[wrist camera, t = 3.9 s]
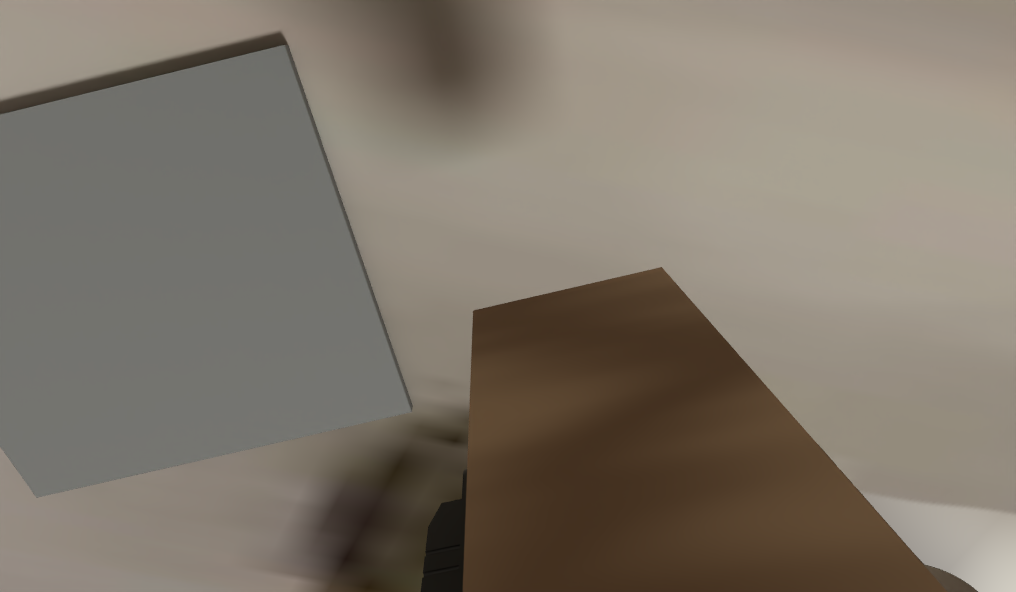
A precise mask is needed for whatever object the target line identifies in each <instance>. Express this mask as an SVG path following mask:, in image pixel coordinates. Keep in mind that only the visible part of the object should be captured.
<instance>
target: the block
mask: <svg viewBox="0 0 1016 592" xmlns="http://www.w3.org/2000/svg"><path fill="white" fill-rule="evenodd" d="M463 592H947V591H946V590H945V589H944V587H943V586H942V585H941V584H940V583H939V582H938V581H937V579H936V578H935V577H934V576H933V575H932V574H931V573H930V572H929V570H928V569H927V568H926V567H925V566H924V565H923V564H922V562H921V561H920V560H919V559H918V558H917V557H916V556H915V554H914V553H913V552H912V551H911V550H910V549H909V548H908V547H907V545H906V544H905V543H904V542H903V541H902V540H901V539H900V537H899V536H898V535H897V534H896V533H895V532H894V531H893V529H892V528H891V527H890V526H889V525H888V524H887V523H886V522H885V520H884V519H883V518H882V517H881V516H880V515H879V514H878V512H877V511H876V510H875V509H874V508H873V507H872V506H871V505H870V503H869V502H868V501H867V500H866V499H865V498H864V497H863V495H862V494H861V493H860V492H859V491H858V490H857V489H856V487H855V486H854V485H853V484H852V483H851V482H850V481H849V480H848V478H847V477H846V476H845V475H844V474H843V473H842V472H841V470H840V469H839V468H838V467H837V466H836V465H835V464H834V462H833V461H832V460H831V459H830V458H829V457H828V456H827V455H826V453H825V452H824V451H823V450H822V449H821V448H820V447H819V445H818V444H817V443H816V442H815V441H814V440H813V439H812V437H811V436H810V435H809V434H808V433H807V432H806V431H805V430H804V428H803V427H802V426H801V425H800V424H799V423H798V422H797V420H796V419H795V418H794V417H793V416H792V415H791V414H790V412H789V411H788V410H787V409H786V408H785V407H784V406H783V405H782V403H781V402H780V401H779V400H778V399H777V398H776V397H775V395H774V394H773V393H772V392H771V391H770V390H769V389H768V388H767V386H766V385H765V384H764V383H763V382H762V381H761V380H760V378H759V377H758V376H757V375H756V374H755V373H754V372H753V370H752V369H751V368H750V367H749V366H748V365H747V364H746V363H745V361H744V360H743V359H742V358H741V357H740V356H739V355H738V353H737V352H736V351H735V350H734V349H733V348H732V347H731V345H730V344H729V343H728V342H727V341H726V340H725V339H724V338H723V336H722V335H721V334H720V333H719V332H718V331H717V330H716V328H715V327H714V326H713V325H712V324H711V323H710V322H709V320H708V319H707V318H706V317H705V316H704V315H703V314H702V313H701V311H700V310H699V309H698V308H697V307H696V306H695V305H694V303H693V302H692V301H691V300H690V299H689V298H688V297H687V295H686V294H685V293H684V292H683V291H682V290H681V289H680V288H679V286H678V285H677V284H676V283H675V282H674V281H673V280H672V278H671V277H670V276H669V275H668V274H667V273H666V272H665V271H664V269H663V268H662V267H660V268H656V269H652V270H647V271H643V272H639V273H634V274H630V275H626V276H621V277H617V278H613V279H608V280H604V281H600V282H595V283H591V284H587V285H582V286H578V287H574V288H569V289H565V290H561V291H556V292H552V293H548V294H543V295H539V296H535V297H530V298H526V299H522V300H517V301H513V302H509V303H504V304H500V305H496V306H491V307H487V308H483V309H478V310H474V311H473V330H472V357H471V384H470V410H469V437H468V464H467V490H466V517H465V544H464V570H463Z"/></svg>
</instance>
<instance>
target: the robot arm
mask: <svg viewBox="0 0 1016 592" xmlns="http://www.w3.org/2000/svg"><path fill="white" fill-rule="evenodd" d="M819 447H820V446H819ZM820 448H821V447H820ZM821 449H822V448H821ZM826 455H827V454H826ZM827 456H828V455H827ZM828 457H829V456H828ZM829 458H830V457H829ZM834 464H835V463H834ZM835 465H836V464H835ZM836 466H837V465H836ZM841 472H842V471H841ZM842 473H843V472H842ZM843 474H844V473H843ZM848 480H849V479H848ZM849 481H850V480H849ZM850 482H851V481H850ZM851 483H852V482H851ZM856 489H857V488H856ZM466 490H467V469H465V470H464V473H463V488H462V499H459V500H455V501H450V502H445V503H441V505H440V507H439V509H438V511H437V512H436V514H435V516H434V518H433V519H432V521H431V523H430V525H429V527H428V534H427V543H426V556H425V560H424V569H423V574H424V578H422V586H421V592H463V570H464V544H465V517H466ZM857 490H858V489H857ZM858 491H859V490H858ZM863 497H864V496H863ZM864 498H865V497H864ZM865 499H866V498H865ZM870 505H871V504H870ZM871 506H872V505H871ZM873 508H874V507H873ZM878 514H879V513H878ZM879 515H880V514H879ZM885 522H886V521H885ZM886 523H887V522H886ZM887 524H888V523H887ZM893 531H894V530H893ZM894 532H895V531H894ZM895 533H896V532H895ZM900 539H901V538H900ZM907 547H908V546H907ZM908 548H909V547H908ZM909 549H910V548H909ZM915 556H916V555H915ZM916 557H917V556H916ZM917 558H918V557H917ZM922 564H923V563H922ZM923 565H924V564H923ZM924 566H925V567H926V568H927V569H928V570H929V572H930V573H931V574H932V575H933V576H934V577H935V578H936V579H937V581H938V582H939V583H940V584H941V585H942V586H943V587H944V589H945V590H946V591H947V592H978V591H977V590H975V589H974V588H973V587H972V586H971V585H969V584H968V583H966V582H965V581H963V580H961V579H960V578H958V577H956V576H954V575H952V574H950V573H948V572H946V571H943V570H941V569H938V568H935V567H932V566H928V565H924Z"/></svg>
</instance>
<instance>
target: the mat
mask: <svg viewBox="0 0 1016 592" xmlns="http://www.w3.org/2000/svg"><path fill="white" fill-rule="evenodd" d="M412 407H413V406H412V403H411V400H410V398H409V395H408V392H407V389H406V386H405V383H404V380H403V377H402V374H401V371H400V369H399V366H398V363H397V360H396V357H395V354H394V351H393V348H392V345H391V342H390V340H389V337H388V334H387V331H386V328H385V325H384V322H383V319H382V316H381V313H380V310H379V308H378V305H377V302H376V299H375V296H374V293H373V290H372V287H371V284H370V281H369V279H368V276H367V273H366V270H365V267H364V264H363V261H362V258H361V255H360V252H359V250H358V247H357V244H356V241H355V238H354V235H353V232H352V229H351V226H350V223H349V220H348V218H347V215H346V212H345V209H344V206H343V203H342V200H341V197H340V194H339V191H338V189H337V186H336V183H335V180H334V177H333V174H332V171H331V168H330V165H329V162H328V160H327V157H326V154H325V151H324V148H323V145H322V142H321V139H320V136H319V133H318V131H317V128H316V125H315V122H314V119H313V116H312V113H311V110H310V107H309V104H308V101H307V99H306V96H305V93H304V90H303V87H302V84H301V81H300V78H299V75H298V72H297V70H296V67H295V64H294V61H293V58H292V55H291V52H290V49H289V46H288V45H282V46H278V47H273V48H269V49H265V50H261V51H257V52H253V53H249V54H245V55H241V56H237V57H233V58H229V59H225V60H220V61H216V62H212V63H208V64H204V65H200V66H196V67H192V68H188V69H184V70H180V71H176V72H172V73H167V74H163V75H159V76H155V77H151V78H147V79H143V80H139V81H135V82H131V83H127V84H123V85H118V86H114V87H110V88H106V89H102V90H98V91H94V92H90V93H86V94H82V95H78V96H74V97H70V98H65V99H61V100H57V101H53V102H49V103H45V104H41V105H37V106H33V107H29V108H25V109H21V110H16V111H12V112H8V113H4V114H0V447H1V448H2V450H3V451H4V453H5V454H6V455H7V457H8V458H9V460H10V461H11V462H12V464H13V465H14V467H15V468H16V469H17V471H18V472H19V474H20V475H21V476H22V478H23V479H24V481H25V482H26V483H27V485H28V486H29V488H30V489H31V490H32V492H33V493H34V495H35V496H36V497H37V498H38V497H42V496H46V495H51V494H55V493H59V492H64V491H68V490H73V489H77V488H81V487H86V486H90V485H94V484H99V483H103V482H108V481H112V480H116V479H121V478H125V477H130V476H134V475H138V474H143V473H147V472H151V471H156V470H160V469H165V468H169V467H173V466H178V465H182V464H186V463H191V462H195V461H200V460H204V459H208V458H213V457H217V456H221V455H226V454H230V453H235V452H239V451H243V450H248V449H252V448H256V447H261V446H265V445H270V444H274V443H278V442H283V441H287V440H291V439H296V438H300V437H305V436H309V435H313V434H318V433H322V432H326V431H331V430H335V429H340V428H344V427H348V426H353V425H357V424H361V423H366V422H370V421H375V420H379V419H383V418H388V417H392V416H396V415H401V414H405V413H410V412H412Z"/></svg>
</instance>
